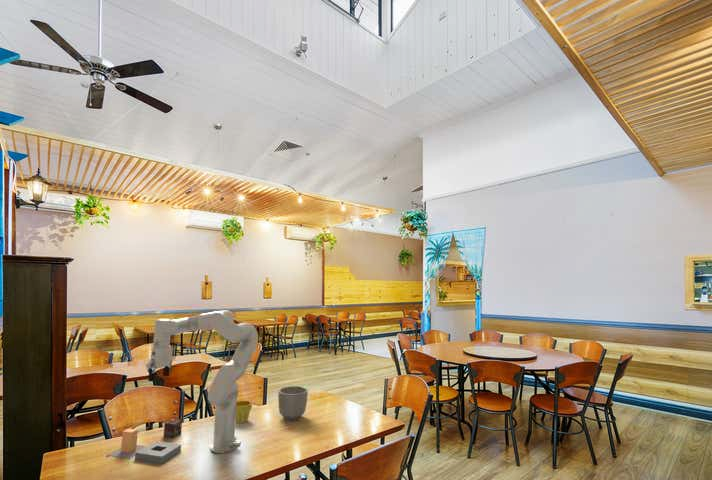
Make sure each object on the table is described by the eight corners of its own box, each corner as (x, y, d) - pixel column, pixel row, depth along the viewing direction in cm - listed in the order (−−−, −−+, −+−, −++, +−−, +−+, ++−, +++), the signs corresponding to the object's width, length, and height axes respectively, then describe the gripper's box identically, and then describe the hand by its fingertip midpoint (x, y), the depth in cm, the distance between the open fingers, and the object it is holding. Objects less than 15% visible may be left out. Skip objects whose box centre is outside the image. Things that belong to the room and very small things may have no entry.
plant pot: (234, 425, 202) (235, 407, 203) (230, 419, 211) (231, 401, 212) (252, 422, 208) (253, 404, 209) (248, 416, 216) (249, 399, 217)
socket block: (180, 452, 170) (181, 444, 171) (161, 465, 159) (162, 456, 159) (155, 448, 173) (155, 441, 174) (134, 460, 162) (135, 452, 162)
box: (173, 439, 184) (174, 424, 185) (162, 438, 185) (164, 423, 186) (181, 434, 190) (182, 419, 191) (171, 433, 191) (172, 418, 192)
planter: (282, 412, 225) (284, 385, 227) (310, 414, 222) (311, 386, 224) (272, 422, 208) (274, 393, 210) (302, 425, 206) (303, 395, 207)
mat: (149, 448, 174) (149, 446, 174) (128, 459, 162) (129, 458, 163) (128, 444, 177) (128, 443, 177) (106, 456, 165) (106, 454, 165)
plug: (136, 449, 171) (137, 429, 172) (130, 453, 167) (131, 432, 168) (127, 448, 172) (128, 428, 173) (120, 451, 169) (122, 431, 170)
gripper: (155, 347, 176) (152, 383, 175) (179, 341, 193) (177, 374, 191) (141, 346, 178) (138, 382, 176) (167, 340, 195) (165, 373, 193)
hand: (158, 378), depth 184 cm, fingers open, 9 cm apart
